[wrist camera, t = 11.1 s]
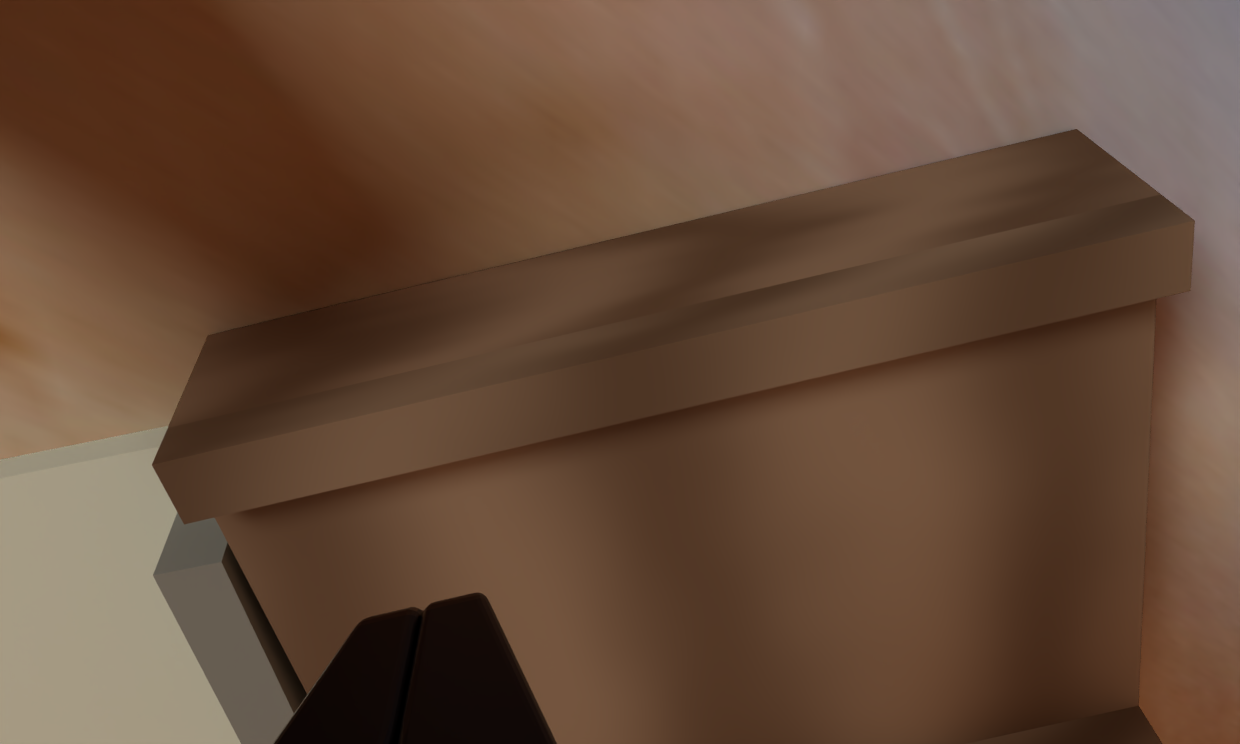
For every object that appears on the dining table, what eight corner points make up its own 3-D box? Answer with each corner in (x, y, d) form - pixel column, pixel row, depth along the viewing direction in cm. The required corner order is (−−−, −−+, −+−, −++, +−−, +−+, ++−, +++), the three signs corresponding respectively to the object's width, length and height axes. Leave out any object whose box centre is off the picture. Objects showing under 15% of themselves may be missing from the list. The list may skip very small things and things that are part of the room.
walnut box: (1076, 129, 20) (1194, 220, 17) (1076, 642, 27) (1159, 781, 24) (207, 335, 21) (151, 464, 17) (422, 788, 28) (413, 944, 24)
